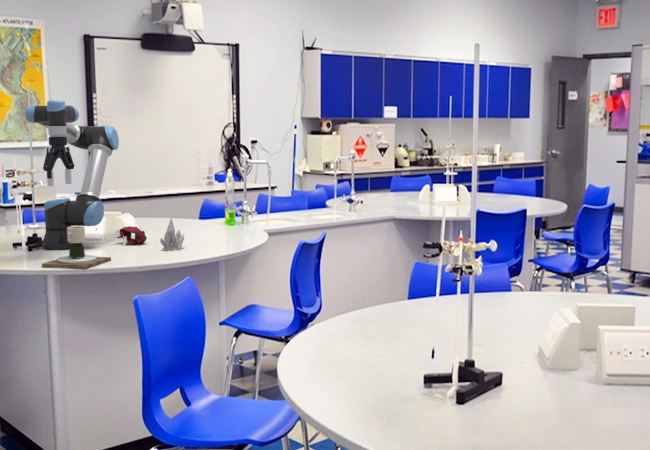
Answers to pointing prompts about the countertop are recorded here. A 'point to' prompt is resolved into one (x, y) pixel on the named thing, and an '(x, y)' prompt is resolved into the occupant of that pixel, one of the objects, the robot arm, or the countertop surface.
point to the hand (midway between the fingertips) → (60, 185)
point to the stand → (76, 266)
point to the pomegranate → (131, 235)
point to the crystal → (172, 239)
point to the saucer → (77, 259)
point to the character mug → (76, 241)
